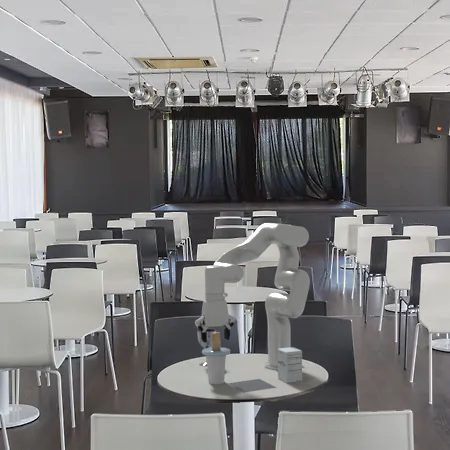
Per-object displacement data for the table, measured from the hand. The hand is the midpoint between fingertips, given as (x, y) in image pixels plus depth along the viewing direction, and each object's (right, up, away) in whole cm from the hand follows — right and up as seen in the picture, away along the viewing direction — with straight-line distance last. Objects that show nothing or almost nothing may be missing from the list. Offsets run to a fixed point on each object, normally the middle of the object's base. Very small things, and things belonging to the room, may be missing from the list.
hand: (215, 340), depth 305 cm
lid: (0, -5, 0) cm, 5 cm away
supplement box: (+29, -17, +3) cm, 34 cm away
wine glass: (-4, -15, +31) cm, 35 cm away
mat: (+14, -17, -5) cm, 23 cm away
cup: (0, -17, +1) cm, 17 cm away
